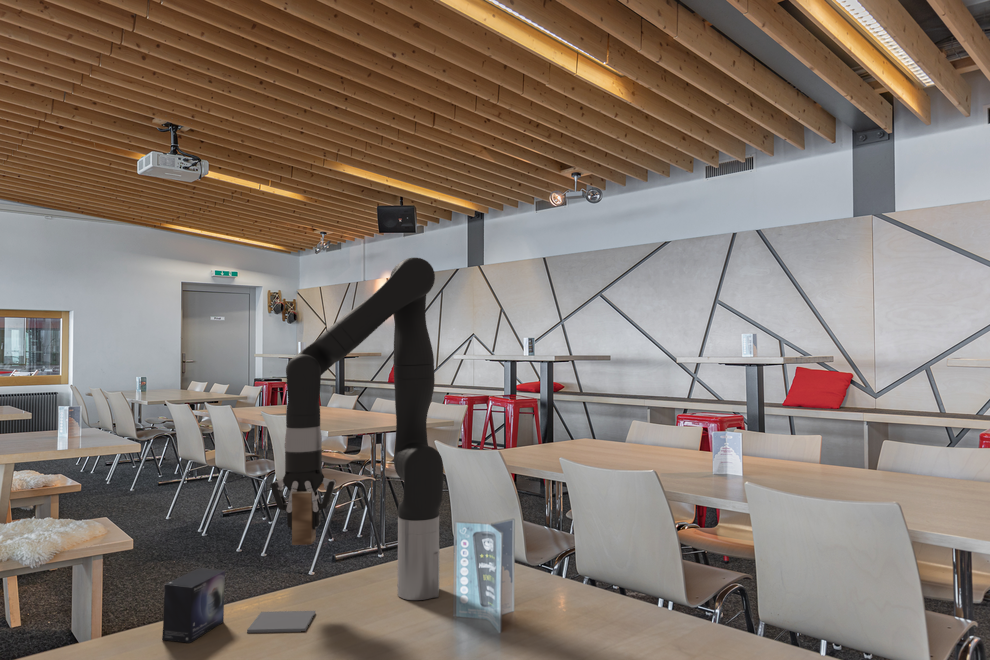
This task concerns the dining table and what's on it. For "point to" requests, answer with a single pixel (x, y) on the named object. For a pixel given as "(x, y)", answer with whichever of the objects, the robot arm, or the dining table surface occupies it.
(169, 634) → the small box
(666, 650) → the dining table surface
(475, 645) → the dining table surface
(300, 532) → the walnut block
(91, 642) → the dining table surface
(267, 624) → the slate pad
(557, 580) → the dining table surface
